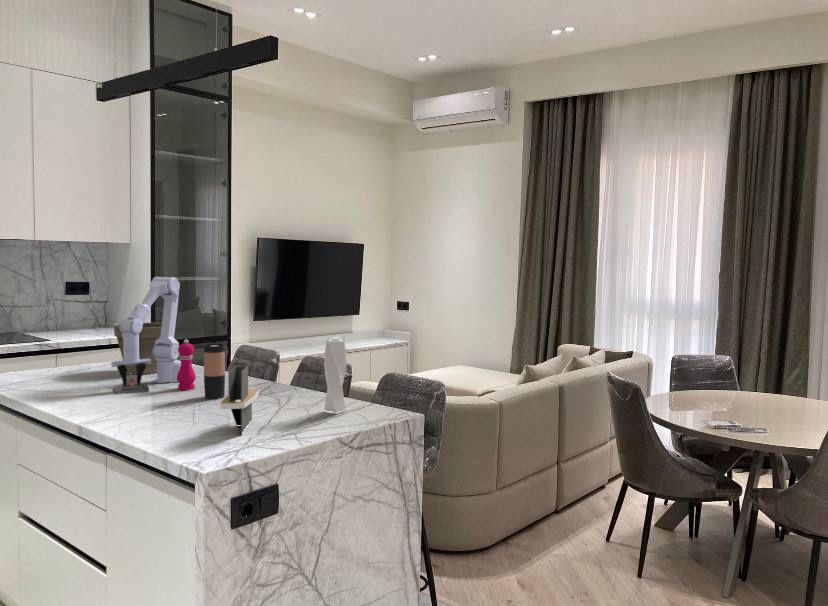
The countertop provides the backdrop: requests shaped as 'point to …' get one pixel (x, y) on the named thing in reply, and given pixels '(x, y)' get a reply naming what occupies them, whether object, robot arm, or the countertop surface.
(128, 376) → the brushed metal block
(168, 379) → the robot arm
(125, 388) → the stand base
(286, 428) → the countertop surface
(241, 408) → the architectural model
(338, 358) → the skyscraper
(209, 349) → the travel mug
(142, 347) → the plant pot
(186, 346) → the pepper mill
